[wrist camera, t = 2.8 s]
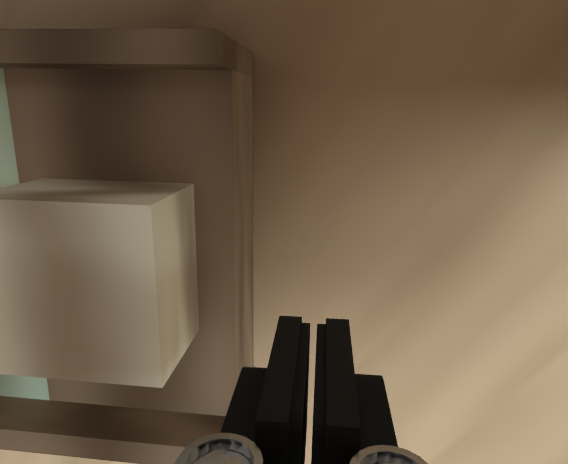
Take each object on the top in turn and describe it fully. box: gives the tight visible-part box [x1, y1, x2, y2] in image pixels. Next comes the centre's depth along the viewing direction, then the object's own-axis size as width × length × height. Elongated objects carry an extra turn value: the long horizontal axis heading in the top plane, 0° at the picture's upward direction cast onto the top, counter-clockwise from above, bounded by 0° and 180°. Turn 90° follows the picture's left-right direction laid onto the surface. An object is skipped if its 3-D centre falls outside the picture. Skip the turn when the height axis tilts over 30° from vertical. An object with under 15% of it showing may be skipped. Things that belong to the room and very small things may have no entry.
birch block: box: [0, 178, 199, 388], centre depth 16 cm, size 6×6×4 cm
